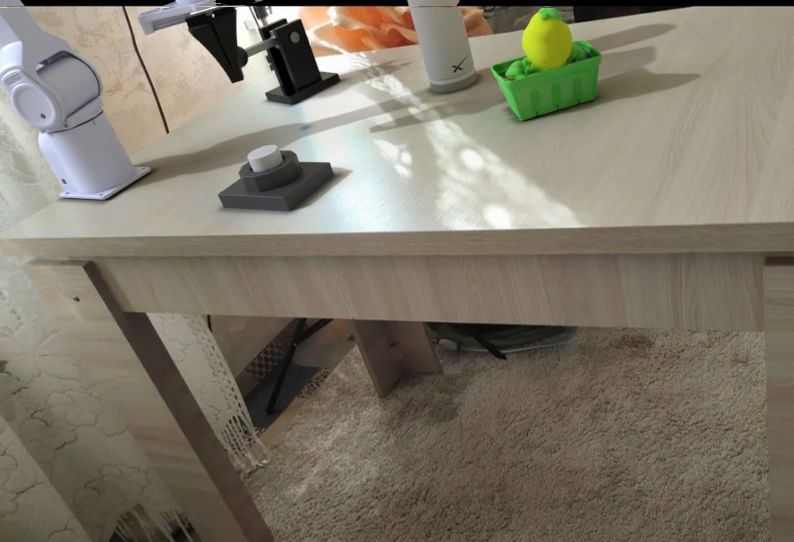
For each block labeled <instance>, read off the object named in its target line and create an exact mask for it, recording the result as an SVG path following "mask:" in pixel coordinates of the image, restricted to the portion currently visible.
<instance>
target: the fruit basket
mask: <svg viewBox="0 0 794 542" xmlns="http://www.w3.org/2000/svg"><path fill="white" fill-rule="evenodd" d="M546 7H550V6H546ZM537 11H538V12H536V13H535V14H534V15H533V16H532V17H531V19H530V20H529V23H528V24H527V26H526V28H525V30H524V31H523V34H522V39H521V48H522V50H523V51H524V54H525V55H522V56H519V57H516V58H511V59H509V60H505V61H502V62H498V63H495V64H493V65H491V66H490V71H491V73H492V75H493V77H494V78H495V79H496V81H497V83H498V85H499V87H500V90H501V92H502V93H503V96H504V99H505V100H506V102H507V104H508V106H509V108H510V110H512V112H513V113H514V115H516V117H517V118H518V119H519V120H520V121H526V120H529V119H533V118H535V117H537V116H542V115H546V114H549V113H554V112H556V111H558V110H563V109H567V108H571V107H573V106H576V105H578V104H584V103H588V102H590V101H593V100H595V99H596V96H597V95H596V94H597V86H598V80H599V72H600V71H599V70H600V64H601V63H602V58H603V53H602V52H600V51H599V50H598V49H597V48H595V46H593V45H592V44H590V43H588V42H587V41H585V40H573V35H572V32H571V29H570V27H569V26H568V24H567V23H566V22H565V21H563V20H564V17H563V16H562V15H561V12H560V11H559V10H558V8H556V7H553V8H543V7H541V8H540V9H539V10H537Z"/></svg>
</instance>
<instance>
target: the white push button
mask: <svg viewBox="0 0 794 542" xmlns="http://www.w3.org/2000/svg"><path fill="white" fill-rule="evenodd" d="M246 158H247V160H248V162H250V165H251V167H252V169H253V171H254V172H261V171H265V170H269V169H271V168H274V167H276V166H278V165H279V164H281V163H282V162H283V158H282V156H281V153H280V148H279V146H278V145H276V144H268V145H267V144H266V145H263V146H260V147H258V148H255V149H253V150H252V151H250V152H249V153H248V154H247V157H246Z"/></svg>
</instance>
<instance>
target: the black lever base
mask: <svg viewBox="0 0 794 542" xmlns="http://www.w3.org/2000/svg"><path fill="white" fill-rule="evenodd" d="M257 30H258V33H259V36H260V38H261V40H262V41H264V40H266V39H268V38H271V35H270V32H269V31H271V30H273V33H274V36H275V38H276V41H277V44H278V46H279V48H275V46H273V47H271V48H269V49H266V50H265V51H266V53H267V56H268V58H269V61H270V64H271V66H272V68H273V72H274V74H275V76H276V79H277V82H278V84H279V85H278V86H277V87H274V88H272V89H270V90H268V91H266V92H264V95H265V97H266V100H267V101H268V102H269V101H270V102H275V103H281V104H285V105H291V106H293V105H295V104H296V103H299V102H301V101H303V100H305V99H307V98H309V97H311V96H313V95H315V94H317V93H319V92H321V91H324V90H325V89H328V88H330V87H331V86H333V85H335V84H337V83H340V82H342V81H341V78H340V75H339V73H338V72H330V71H322V70H320V69H319V66H318V63H317V59H316V57H315V54H314V52H313V48H312V46H311V43H310V40H309V38H308V34H307V32H306V29H305V26H304V23H303V20H302V18H296V19H294V20H292V21H289V22H288V20H287V18H286V17H282V18H280V19H277V20H276V21H273V22H270V23H268V24H266V25H264V26H260V27H259V28H257Z"/></svg>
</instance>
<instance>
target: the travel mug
mask: <svg viewBox="0 0 794 542" xmlns="http://www.w3.org/2000/svg"><path fill="white" fill-rule="evenodd" d="M459 2H460V0H407V4H408V7H418V6H457V4H458V3H459ZM409 12H410V16H411V19H412V23H413V27H414V30H415V34H416V37H417V41H418V45H419V48H420V52H421V55H422V59H423V61H424V62H423V63H424V67H425V71H426V74H427V77H428V81H429V84H430V89H431V90H432V91H433V92H435V93H439V94H448V93H454V92H457V91H461V90H463V89H466V88H468V87H470V86H472V85H473V84H475V82H476V81H477V78H478V75H477V70H476V67H475V61H474V57H473V54H472V53H473V52H472V49H471V45H470V41H469V37H468V33H467V28H466V24H465V19H464V16H463V11H462V8H445V7H433V8H409Z"/></svg>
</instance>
